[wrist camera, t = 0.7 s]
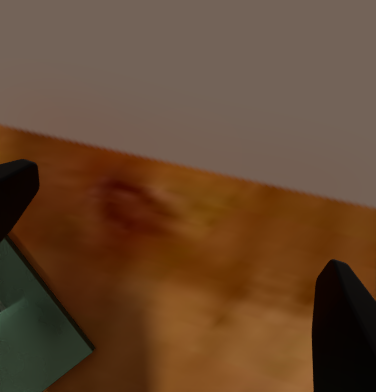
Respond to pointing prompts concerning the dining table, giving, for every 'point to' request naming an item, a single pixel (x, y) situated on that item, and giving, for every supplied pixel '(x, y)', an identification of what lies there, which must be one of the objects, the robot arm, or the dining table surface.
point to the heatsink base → (33, 328)
